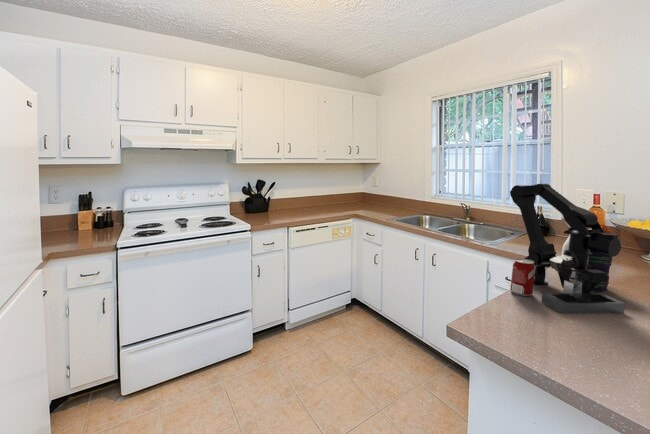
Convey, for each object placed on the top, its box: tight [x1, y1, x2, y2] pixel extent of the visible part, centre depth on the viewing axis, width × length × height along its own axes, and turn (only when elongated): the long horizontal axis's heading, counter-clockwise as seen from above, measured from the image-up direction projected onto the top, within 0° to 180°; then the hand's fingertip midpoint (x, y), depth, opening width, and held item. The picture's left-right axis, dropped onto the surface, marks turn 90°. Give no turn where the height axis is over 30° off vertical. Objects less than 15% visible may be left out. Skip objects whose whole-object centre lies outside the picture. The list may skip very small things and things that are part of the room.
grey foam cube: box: [562, 279, 582, 293], centre depth 109 cm, size 4×4×5 cm
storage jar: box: [573, 251, 613, 293], centre depth 117 cm, size 10×10×15 cm
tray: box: [541, 292, 626, 314], centre depth 100 cm, size 8×20×3 cm, turn 91°
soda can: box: [509, 258, 536, 297], centre depth 111 cm, size 7×7×12 cm
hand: (573, 292), depth 110 cm, fingers open, 8 cm apart
